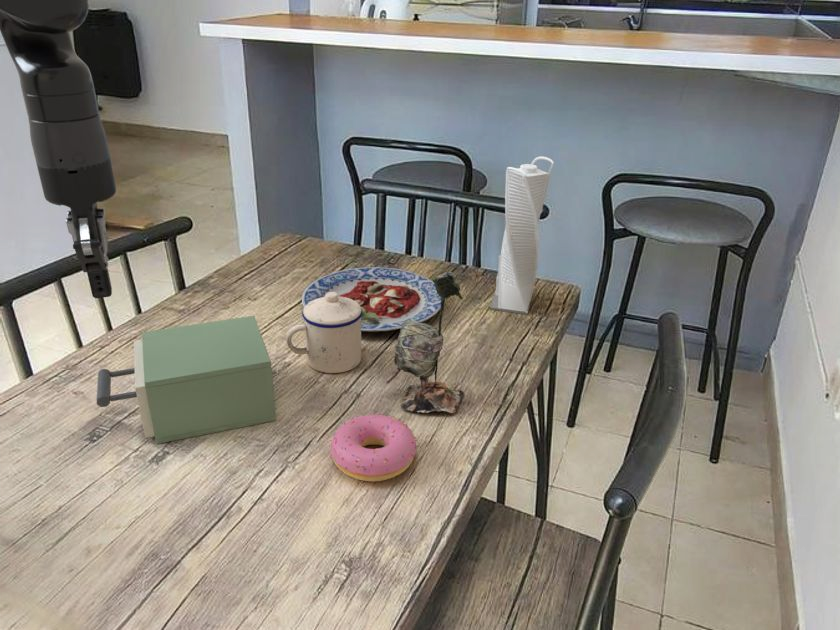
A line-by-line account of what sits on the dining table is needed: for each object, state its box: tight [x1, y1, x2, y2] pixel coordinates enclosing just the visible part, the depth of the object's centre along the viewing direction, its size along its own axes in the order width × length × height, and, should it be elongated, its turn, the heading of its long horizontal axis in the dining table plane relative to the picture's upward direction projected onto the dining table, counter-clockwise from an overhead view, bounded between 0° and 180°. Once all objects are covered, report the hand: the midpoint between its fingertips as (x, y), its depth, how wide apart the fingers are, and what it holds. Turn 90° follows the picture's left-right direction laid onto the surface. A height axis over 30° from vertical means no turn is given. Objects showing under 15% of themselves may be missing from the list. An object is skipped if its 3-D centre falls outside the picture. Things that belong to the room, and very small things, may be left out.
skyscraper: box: [489, 155, 555, 315], centre depth 120 cm, size 8×8×28 cm
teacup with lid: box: [285, 292, 363, 374], centre depth 105 cm, size 12×9×12 cm
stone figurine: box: [385, 271, 466, 414], centre depth 94 cm, size 8×11×20 cm
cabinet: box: [141, 315, 277, 445], centre depth 95 cm, size 16×14×10 cm
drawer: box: [96, 339, 155, 439], centre depth 93 cm, size 20×12×8 cm, turn 111°
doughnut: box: [329, 413, 418, 482], centre depth 86 cm, size 11×11×4 cm
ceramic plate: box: [301, 266, 442, 332], centre depth 124 cm, size 26×26×3 cm
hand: (102, 295), depth 84 cm, fingers closed
